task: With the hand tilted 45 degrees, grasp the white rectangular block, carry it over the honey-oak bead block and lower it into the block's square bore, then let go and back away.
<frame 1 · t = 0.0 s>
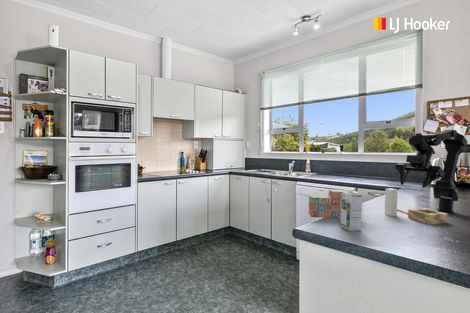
hand: (411, 185, 117), 15 cm above the worktop, tool tilted 35°, fingers open, 9 cm apart
stack of blocks: (333, 217, 120), on the worktop
syrup box: (350, 229, 102), on the worktop
red square stick: (400, 211, 130), on the worktop
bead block: (427, 220, 115), on the worktop
white rectangular block: (390, 215, 123), on the worktop
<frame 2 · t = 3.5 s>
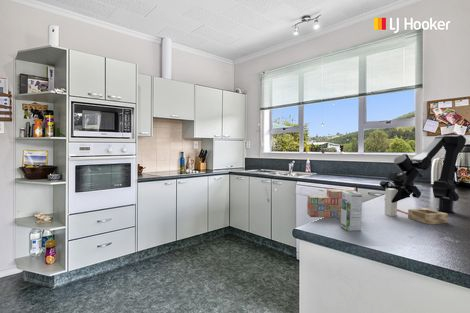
hand: (388, 201, 123), 7 cm above the worktop, tool tilted 45°, fingers closed on white rectangular block, 3 cm apart
white rectangular block: (390, 214, 123), on the worktop, touching gripper
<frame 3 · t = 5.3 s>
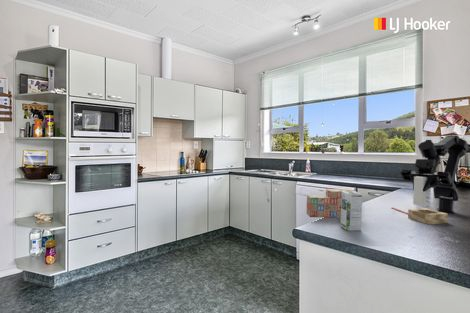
hand: (418, 190, 115), 13 cm above the worktop, tool tilted 45°, fingers closed on white rectangular block, 3 cm apart
white rectangular block: (419, 204, 116), point 7 cm above the worktop, touching gripper
when the fingers open (8 cm above the worktop, at t = 7.1 s): white rectangular block drops 1 cm, resting in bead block.
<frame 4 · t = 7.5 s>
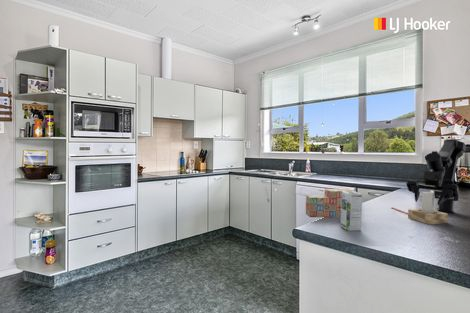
hand: (426, 202, 114), 8 cm above the worktop, tool tilted 45°, fingers open, 8 cm apart
white rectangular block: (427, 220, 115), resting in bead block
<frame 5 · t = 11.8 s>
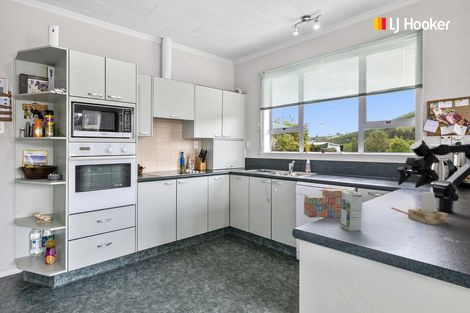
hand: (406, 185, 127), 14 cm above the worktop, tool tilted 45°, fingers open, 9 cm apart
at the end: white rectangular block 0.1 cm off-centre on the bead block, point 0.0 cm above the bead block's base; white rectangular block tilted 0°; the gripper is holding nothing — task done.
